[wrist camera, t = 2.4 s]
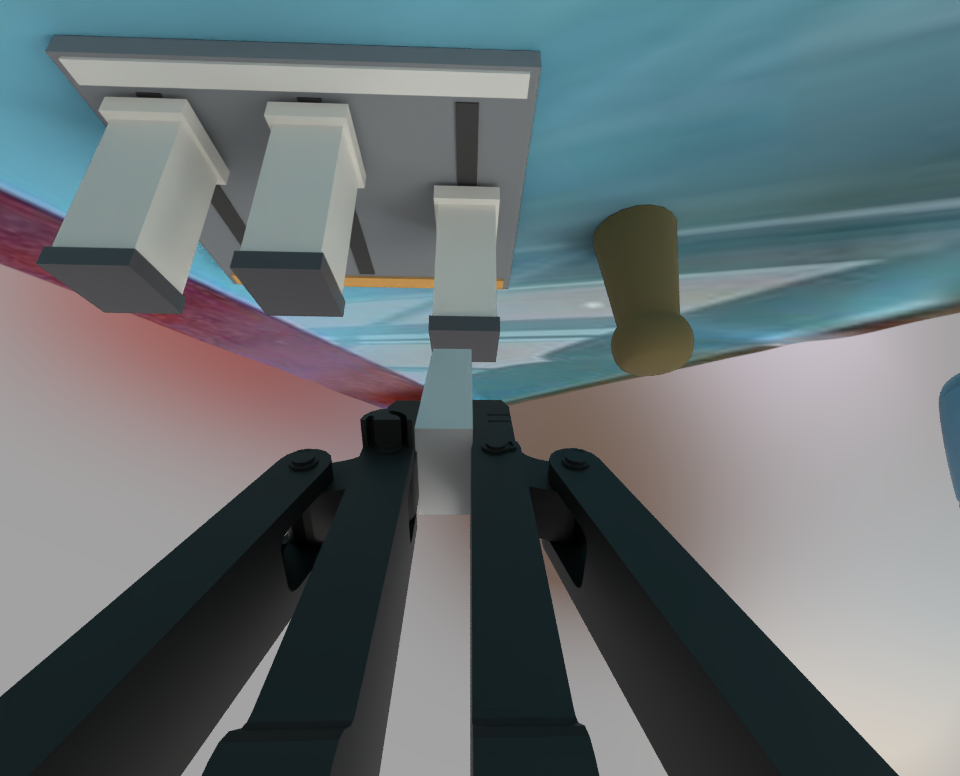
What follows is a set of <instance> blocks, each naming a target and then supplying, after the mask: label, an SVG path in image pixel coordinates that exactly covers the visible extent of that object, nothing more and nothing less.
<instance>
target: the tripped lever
mask: <svg viewBox="0 0 960 776" xmlns="http://www.w3.org/2000/svg"><path fill="white" fill-rule="evenodd" d="M499 205H500V187H477V186H437V185H434V209H435V220H436V232H437V236H436V255H435V275H434V294H433V314H432V316H430V315H429V336H430V342H431V349H432V352H433V349H471V350H472V362H496V356H497V349H498V341H499V334H500V317H497V297H496V238H497V227H498V216H499Z"/></svg>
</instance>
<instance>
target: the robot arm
mask: <svg viewBox="0 0 960 776" xmlns="http://www.w3.org/2000/svg"><path fill="white" fill-rule="evenodd" d="M939 412H940V422H941V428H942V434H943V441H944V447H945V451H946V456H947V462H948V466H949V470H950V475H951V479H952V483H953V487H954V491H955V494H956V498H957V500H958V501H959V502H960V373H959V374H957V375H955V376H954V377H952V378H951V379H950V380H949V381H947V382H946V383H945V385H944V386H943V388H942V390H941V392H940V396H939ZM360 420H361V431H362V441H363V449H362V451H361V454H360V456H359V457H356V458H354V459H350V460H346V461H341V462H334V463H332V460H331V455H329V454H328V453H327V452H326V451H322V450H319V449H304V450H303V449H302V450H298V451H296V452H293V453H290V454H288V455H286V456H285V457H283V458H281V459H280V460H279V461H278V462H276V463H275V464H274V465H273V466H272V467H270V468H269V469H268V470H267V471H266V472H265V473H263V474H262V475H261V476H260V477H259V478H258V479H257V480H255V481H254V482H253V483H252V484H250V485H249V486H248V487H247V488H246V489H245V490H243V491H242V492H241V493H240V494H239V495H237V496H236V497H235V498H234V499H233V500H232V501H231V502H229V503H228V504H227V505H226V506H225V507H223V508H222V509H221V510H220V511H219V512H218V513H216V514H215V515H214V516H213V517H212V518H210V519H209V520H208V521H207V522H206V523H205V524H203V525H202V526H201V527H200V528H199V529H197V530H196V531H195V532H194V533H193V534H192V535H190V536H189V537H188V538H187V539H186V540H184V541H183V542H182V543H181V544H180V545H179V546H177V547H176V548H175V549H174V550H173V551H172V552H170V553H169V554H168V555H167V556H166V557H165V558H163V559H162V560H161V561H160V562H159V563H157V564H156V565H155V566H154V567H153V568H151V569H150V570H149V571H148V572H147V573H146V574H144V575H143V576H142V577H141V578H140V579H139V580H137V581H136V582H135V583H134V584H133V585H132V586H130V587H129V588H128V589H127V590H126V591H124V592H123V593H122V594H121V595H120V596H119V597H117V598H116V599H115V600H114V601H113V602H111V603H110V604H109V605H108V606H107V607H106V608H104V609H103V610H102V611H101V612H100V613H98V614H97V615H96V616H95V617H94V618H93V619H92V620H90V621H89V622H88V623H87V624H86V625H84V626H83V627H82V628H81V629H80V630H79V631H78V632H76V633H75V634H74V635H73V636H71V637H70V638H69V639H68V640H67V641H66V642H64V643H63V644H62V645H61V646H60V647H58V648H57V649H56V650H55V651H54V652H53V653H51V654H50V655H49V656H48V657H47V658H46V659H44V660H43V661H42V662H41V663H40V664H39V665H37V666H36V667H35V668H34V669H33V670H31V671H30V672H29V673H28V674H27V675H26V676H24V677H23V678H22V679H21V680H20V681H18V682H17V683H16V684H15V685H14V686H13V687H11V688H10V689H9V690H8V691H7V692H5V693H4V694H3V695H2V696H1V697H0V776H181V774H182V773H183V772H184V770H185V769H186V767H187V766H188V764H189V763H190V762H191V760H192V759H193V757H194V756H195V755H196V753H197V752H198V750H199V749H200V747H201V746H202V745H203V743H204V742H205V740H206V739H207V737H208V736H209V735H210V733H211V732H212V730H213V729H214V727H215V726H216V725H217V723H218V722H219V720H220V719H221V718H222V716H223V715H224V713H225V712H226V710H227V709H228V708H229V706H230V705H231V703H232V702H233V700H234V699H235V697H236V696H237V695H238V693H239V692H240V691H241V689H242V688H243V686H244V685H245V683H246V682H247V681H248V679H249V678H250V676H251V675H252V673H253V672H254V671H255V669H256V668H257V666H258V665H259V663H260V662H261V661H262V659H263V658H264V656H265V655H266V653H267V652H268V651H269V649H270V648H271V646H272V645H273V644H274V642H275V641H276V639H277V638H278V636H279V635H280V633H281V632H282V631H283V629H284V628H285V626H286V625H287V624H288V622H289V621H290V619H291V621H290V623H289V625H288V628H287V630H286V633H285V635H284V637H283V640H282V642H281V645H280V647H279V649H278V652H277V654H276V656H275V659H274V661H273V664H272V666H271V668H270V671H269V673H268V676H267V678H266V680H265V683H264V685H263V687H262V690H261V692H260V695H259V697H258V699H257V702H256V704H255V707H254V709H253V711H252V713H251V715H250V717H249V719H248V721H247V723H246V724H245V725H244V726H243V727H242V728H241V729H237V730H233V731H229V732H228V733H227V734H226V735H225V737H223V738H222V740H221V741H220V742H219V743H218V745H217V747H216V748H215V750H214V752H213V754H212V756H211V758H210V759H209V761H208V763H207V766H206V767H205V770H204V772H203V774H202V776H379V772H380V765H381V759H382V751H383V746H384V739H385V733H386V726H387V720H388V713H389V706H390V700H391V694H392V687H393V680H394V673H395V668H396V661H397V655H398V648H399V641H400V635H401V629H402V622H403V615H404V609H405V603H406V596H407V589H408V583H409V576H410V570H411V563H412V557H413V550H414V543H415V537H416V530H417V516H416V515H417V514H416V511H417V505H418V514H420V515H428V514H429V515H433V514H435V515H442V514H443V515H444V514H445V515H450V514H451V515H452V514H453V515H464V514H465V515H468V514H469V515H471V516H470V518H471V519H470V521H471V522H470V568H471V569H470V576H471V577H470V581H471V582H470V604H471V605H470V610H471V611H470V617H471V618H470V622H471V624H470V630H471V631H470V632H471V633H470V640H471V642H470V645H471V647H470V650H471V652H470V654H471V657H470V658H471V659H470V661H471V662H470V665H471V666H470V668H471V669H470V671H471V673H470V674H471V675H470V682H471V684H470V688H471V689H470V692H471V693H470V694H471V695H470V696H471V697H470V701H471V702H470V704H471V705H470V708H471V710H470V711H471V713H470V714H471V716H470V717H471V718H470V722H471V723H470V725H471V726H470V728H471V729H470V730H471V731H470V739H471V744H470V747H471V748H470V752H471V753H470V756H471V758H470V760H471V763H470V766H471V770H470V772H471V775H470V776H599V772H598V768H597V763H596V759H595V754H594V751H593V747H592V743H591V740H590V737H589V734H588V732H587V730H586V727H585V726H584V725H582V724H580V723H578V721H577V718H576V716H575V712H574V708H573V703H572V698H571V693H570V688H569V683H568V678H567V674H566V669H565V664H564V658H563V654H562V649H561V644H560V639H559V634H558V629H557V624H556V619H555V615H554V609H553V604H552V599H551V594H550V589H549V584H548V579H547V575H546V570H545V565H544V560H543V555H542V550H541V545H540V540H539V538H541V539H542V544H543V547H544V549H545V551H546V553H547V555H548V557H549V559H550V560H551V562H552V564H553V566H554V568H555V569H556V571H557V573H558V575H559V577H560V579H561V580H562V582H563V584H564V586H565V588H566V590H567V591H568V593H569V595H570V597H571V599H572V601H573V602H574V604H575V606H576V608H577V609H578V612H579V613H580V615H581V617H582V619H583V621H584V623H585V624H586V626H587V628H588V630H589V632H590V633H591V635H592V637H593V639H594V641H595V643H596V644H597V646H598V648H599V650H600V652H601V654H602V655H603V657H604V659H605V661H606V662H607V664H608V666H609V668H610V670H611V672H612V674H613V676H614V677H615V679H616V681H617V683H618V685H619V686H620V688H621V690H622V692H623V694H624V696H625V697H626V699H627V701H628V703H629V705H630V707H631V708H632V710H633V712H634V714H635V716H636V717H637V719H638V721H639V723H640V725H641V727H642V728H643V730H644V732H645V734H646V736H647V738H648V739H649V741H650V743H651V745H652V747H653V748H654V750H655V752H656V754H657V756H658V758H659V760H660V761H661V763H662V765H663V767H664V769H665V771H666V772H667V774H668V776H899V775H898V774H897V773H896V772H895V771H894V770H893V769H892V768H891V767H890V766H889V765H888V764H887V763H886V762H885V761H884V759H883V758H882V757H881V756H880V755H879V754H878V753H877V752H876V751H875V750H874V749H873V748H872V747H871V746H870V745H869V744H868V743H867V742H866V740H865V739H864V738H863V737H862V736H861V735H860V734H859V733H858V732H857V731H856V730H855V729H854V728H853V727H852V726H851V725H850V724H849V722H848V721H847V720H846V719H845V718H844V717H843V716H842V715H841V714H840V713H839V712H838V711H837V710H836V709H835V708H834V707H833V706H832V705H831V703H830V702H829V701H828V700H827V699H826V698H825V697H824V696H823V695H822V694H821V693H820V692H819V691H818V690H817V689H816V688H815V686H814V685H813V684H812V683H811V682H810V681H809V680H808V679H807V678H806V677H805V676H804V675H803V674H802V673H801V672H800V671H799V670H798V668H797V667H796V666H795V665H794V664H793V663H792V662H791V661H790V660H789V659H788V658H787V657H786V656H785V655H784V654H783V653H782V652H781V650H780V649H779V648H778V647H777V646H776V645H775V644H774V643H773V642H772V641H771V640H770V639H769V638H768V637H767V636H766V635H765V634H764V632H763V631H762V630H761V629H760V628H759V627H758V626H757V625H756V624H755V623H754V622H753V621H752V620H751V619H750V618H749V617H748V616H747V614H746V613H745V612H744V611H743V610H742V609H741V608H740V607H739V606H738V605H737V604H736V603H735V602H734V601H733V600H732V599H731V598H730V597H729V596H728V594H727V593H726V592H725V591H724V590H723V589H722V588H721V587H720V586H719V585H718V584H717V583H716V582H715V581H714V580H713V579H712V577H710V576H709V574H708V573H707V572H706V571H705V570H704V569H703V568H702V567H701V566H700V565H699V564H698V563H697V562H696V561H695V559H694V558H693V557H692V556H691V555H690V554H689V553H688V552H687V551H686V550H685V549H684V548H683V547H682V546H681V545H680V544H679V543H678V542H677V540H676V539H675V538H674V537H673V536H672V535H671V534H670V533H669V532H668V531H667V530H666V529H665V528H664V527H663V526H662V525H661V524H660V522H659V521H658V520H657V519H656V518H655V517H654V516H653V515H652V514H651V513H650V512H649V511H648V510H647V509H646V508H645V507H644V506H643V504H641V502H640V501H639V500H638V499H637V498H636V497H635V496H634V495H633V494H632V493H631V492H630V491H629V490H628V489H627V488H626V486H624V484H623V483H622V482H621V481H620V480H619V479H618V478H617V477H616V476H615V475H614V474H613V473H612V472H611V471H610V470H609V469H608V467H606V465H605V464H604V463H603V462H602V461H601V460H600V459H599V458H597V457H596V456H595V455H593V454H592V453H590V452H587V451H585V450H582V449H577V448H569V449H568V448H567V449H561V450H557V451H555V452H554V453H552V454H551V456H550V458H549V461H544V460H539V459H535V458H532V457H529V456H527V455H525V454H524V453H522V451H521V447H520V445H519V444H518V442H516V441H515V438H514V432H513V427H512V422H511V416H510V412H509V407H508V406H507V405H506V404H505V403H504V402H503V401H502V400H472V350H471V349H433V352H432V356H431V360H430V365H429V369H428V373H427V377H426V382H425V386H424V390H423V394H422V398H421V401H395V402H394V403H393V404H391V405H390V406H389V407H388V408H387V409H380V410H376V411H372V412H370V413H368V414H366V415H364V416H363V417H362V418H361V419H360ZM959 506H960V504H959ZM286 533H287V534H286ZM285 534H286V535H285Z"/></svg>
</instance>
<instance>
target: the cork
mask: <svg viewBox="0 0 960 776" xmlns="http://www.w3.org/2000/svg"><path fill="white" fill-rule="evenodd" d="M593 245H594V249H595V253H596V256H597V259H598V263H599V266H600V270H601V273H602V277H603V280H604V284H605V287H606V291H607V294H608V297H609V301H610V304H611V308H612V311H613V315H614V318H615V322H616V325H617V328H616V329H615V331H614V333H613V336H612V341H611V350H612V354H613V357H614V360H615V362H616V364H617V365H618V366H619V367H620V369H622V370H623V371H624V372H626V373H629V374H633V375H637V376H654V375H660V374H665V373H668V372H671V371H674V370H676V369H678V368H679V367H681V366H682V365H684V364H685V363H687V361H688V360H689V359H690V357H691V355H692V353H693V349H694V335H693V331H692V329H691V327H690V325H689V323H688V322H687V321H686V320H685V318H683V317H682V316H681V315H680V304H679V274H678V244H677V220H676V218H675V216H674V215H673V213H672V212H671V211H669V210H667V209H666V208H664V207H660V206H655V205H638V206H634V207H630V208H626V209H623V210H621V211H619V212H617V213H615V214H613V215H611V216H610V217H608V218H607V219H606V220H605V221H604V222H602V223H601V224H600V225H599V227H598V228H597V230H596V231H595V233H594V237H593Z"/></svg>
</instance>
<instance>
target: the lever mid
mask: <svg viewBox="0 0 960 776" xmlns="http://www.w3.org/2000/svg"><path fill="white" fill-rule="evenodd" d="M264 117H265V119H266V121H267V123H268V126H269V128H270V130H271V133H270V136H269V140H268V144H267V148H266V152H265V156H264V160H263V164H262V167H261V171H260V175H259V179H258V183H257V187H256V191H255V195H254V198H253V202H252V206H251V210H250V214H249V218H248V222H247V226H246V229H245V233H244V237H243V241H242V245H241V249H240V251H234V254H233V257H232V261H231V265H230V269H231V270H232V271H233V273H234V274H235V275H236V276H237V278H238V279H239V280H240V282H241V283H242V284H243V285H244V287H245V288H246V289H247V291H248V292H249V293H250V294H251V296H252V297H253V298H254V299H255V301H256V302H257V303H258V305H259V306H260V307H261V308H262V310H263V311H264V312H265V314H266V315H273V316H328V317H343V315H344V307H345V300H344V298H343V295H342V294H343V287H344V280H345V273H346V266H347V259H348V252H349V245H350V238H351V231H352V224H353V217H354V210H355V203H356V196H357V189H358V188H365V181H366V173H365V169H364V165H363V161H362V157H361V153H360V149H359V145H358V141H357V137H356V133H355V129H354V126H353V122H352V118H351V114H350V110H349V106H348V104H335V103H301V102H267V106H266V109H265V113H264Z"/></svg>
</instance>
